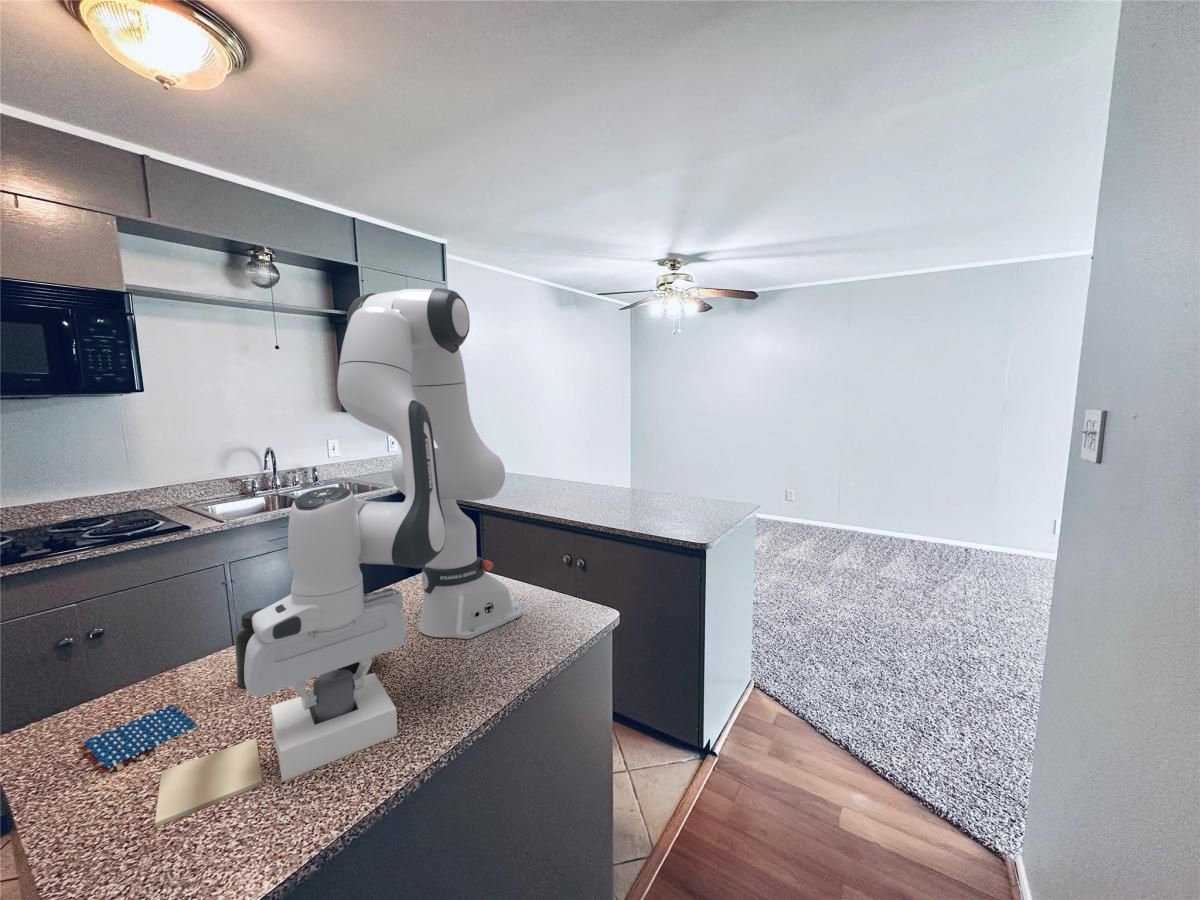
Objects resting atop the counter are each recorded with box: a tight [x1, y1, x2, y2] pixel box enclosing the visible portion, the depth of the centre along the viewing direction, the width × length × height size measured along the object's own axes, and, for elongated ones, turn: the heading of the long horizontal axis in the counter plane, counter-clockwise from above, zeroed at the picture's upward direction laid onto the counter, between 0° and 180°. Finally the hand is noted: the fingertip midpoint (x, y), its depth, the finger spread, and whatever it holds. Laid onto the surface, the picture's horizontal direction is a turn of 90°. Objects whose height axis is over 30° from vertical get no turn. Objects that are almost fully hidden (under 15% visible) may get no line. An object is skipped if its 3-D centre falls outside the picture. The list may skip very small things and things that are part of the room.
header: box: [270, 672, 398, 782], centre depth 71 cm, size 14×12×5 cm
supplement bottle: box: [234, 607, 265, 688], centre depth 86 cm, size 7×7×12 cm
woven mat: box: [80, 703, 198, 778], centre depth 70 cm, size 10×11×2 cm
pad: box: [154, 737, 263, 828], centre depth 62 cm, size 10×10×2 cm
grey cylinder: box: [312, 670, 355, 724], centre depth 70 cm, size 5×5×8 cm
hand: (334, 696), depth 70 cm, fingers closed on grey cylinder, 5 cm apart
